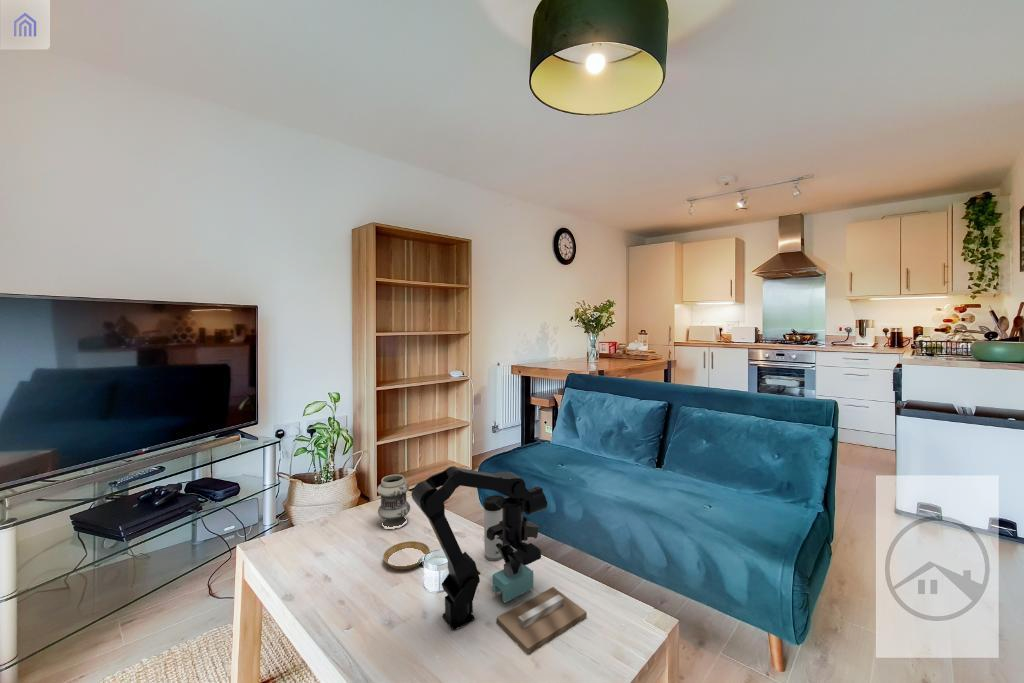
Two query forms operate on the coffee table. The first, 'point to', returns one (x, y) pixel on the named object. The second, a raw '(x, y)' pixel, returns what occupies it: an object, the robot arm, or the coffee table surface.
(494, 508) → the travel mug
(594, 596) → the coffee table surface
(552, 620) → the cleat board
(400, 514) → the apothecary jar
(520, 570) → the grooved box
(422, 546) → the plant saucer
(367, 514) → the coffee table surface
